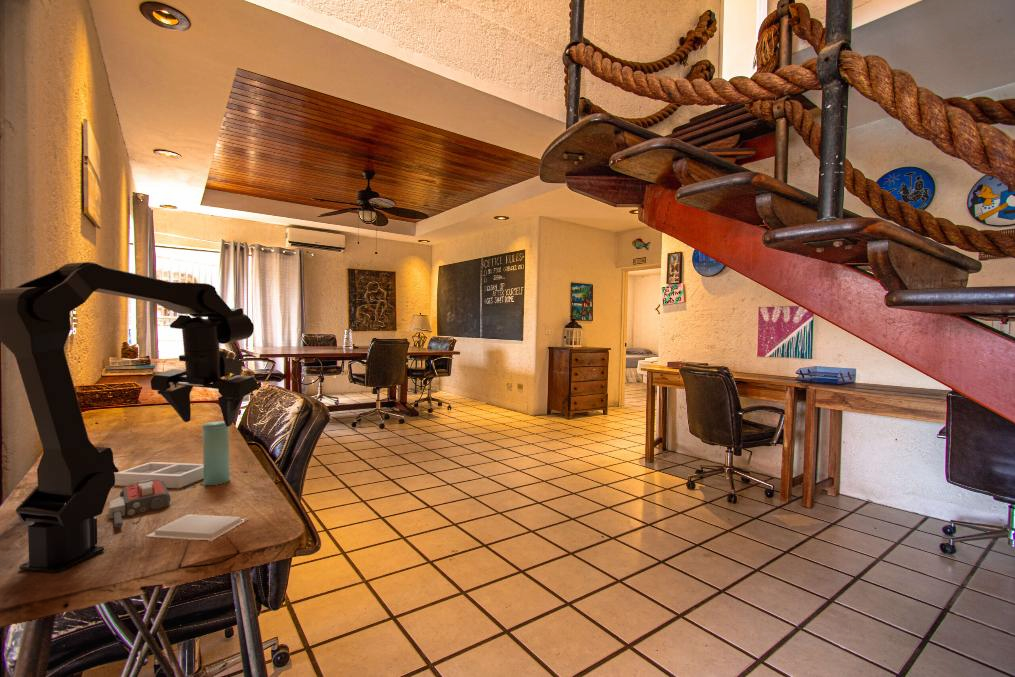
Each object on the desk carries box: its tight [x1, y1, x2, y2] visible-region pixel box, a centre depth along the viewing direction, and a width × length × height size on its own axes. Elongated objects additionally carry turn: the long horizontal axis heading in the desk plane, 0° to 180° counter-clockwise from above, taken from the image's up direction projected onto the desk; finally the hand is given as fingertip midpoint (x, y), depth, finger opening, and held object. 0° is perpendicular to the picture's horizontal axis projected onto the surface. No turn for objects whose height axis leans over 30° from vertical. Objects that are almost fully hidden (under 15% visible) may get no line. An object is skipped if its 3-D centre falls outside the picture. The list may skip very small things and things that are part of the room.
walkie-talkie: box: [108, 479, 171, 528], centre depth 83 cm, size 9×4×20 cm
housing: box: [114, 461, 204, 489], centre depth 99 cm, size 9×16×2 cm, turn 82°
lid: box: [145, 513, 245, 542], centre depth 75 cm, size 12×8×1 cm, turn 82°
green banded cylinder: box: [202, 420, 231, 486], centre depth 98 cm, size 5×5×13 cm
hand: (208, 423), depth 90 cm, fingers open, 9 cm apart
